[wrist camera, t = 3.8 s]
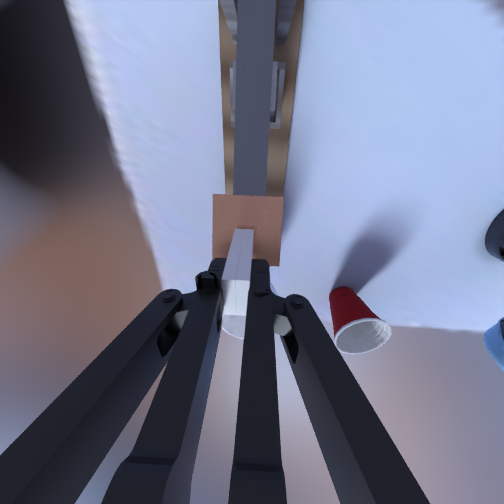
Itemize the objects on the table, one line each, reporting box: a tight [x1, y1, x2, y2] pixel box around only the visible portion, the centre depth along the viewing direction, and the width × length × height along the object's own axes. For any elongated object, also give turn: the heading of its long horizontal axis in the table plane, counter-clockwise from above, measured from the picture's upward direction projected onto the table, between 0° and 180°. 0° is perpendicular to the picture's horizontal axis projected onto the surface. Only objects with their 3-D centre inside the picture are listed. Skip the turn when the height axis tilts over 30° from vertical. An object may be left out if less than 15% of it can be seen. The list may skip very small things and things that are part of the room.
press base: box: [218, 0, 304, 197], centre depth 25 cm, size 26×10×15 cm, turn 178°
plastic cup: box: [329, 287, 391, 354], centre depth 44 cm, size 11×11×12 cm
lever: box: [212, 0, 284, 266], centre depth 18 cm, size 23×6×5 cm, turn 178°
